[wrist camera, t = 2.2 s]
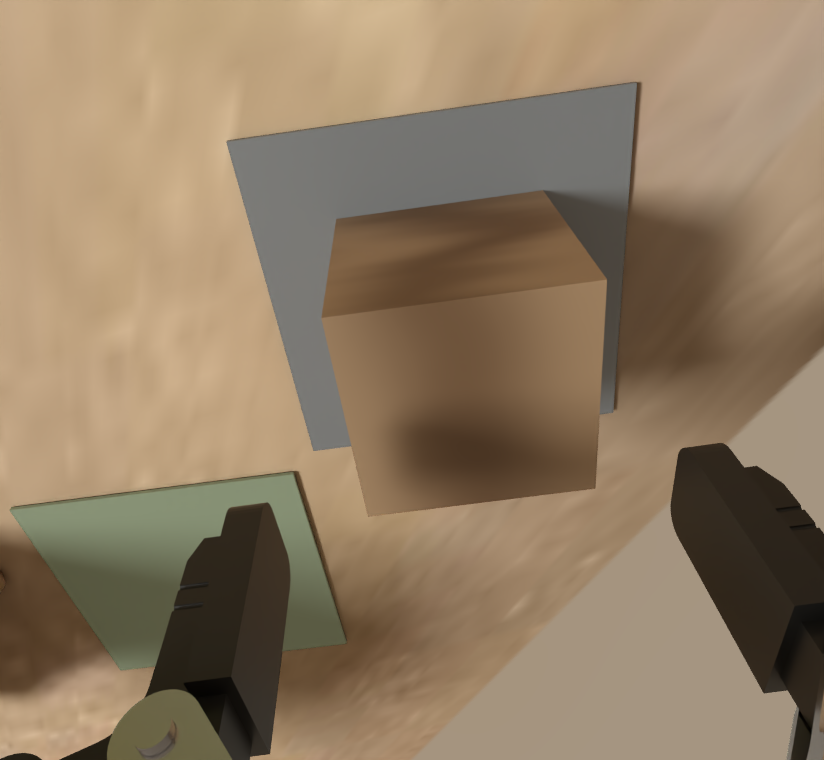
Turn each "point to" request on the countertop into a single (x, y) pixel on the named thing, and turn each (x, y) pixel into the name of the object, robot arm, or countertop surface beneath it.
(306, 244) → the tile
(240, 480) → the mat
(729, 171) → the countertop surface
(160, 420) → the countertop surface
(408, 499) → the walnut block
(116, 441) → the countertop surface
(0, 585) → the decorative block
